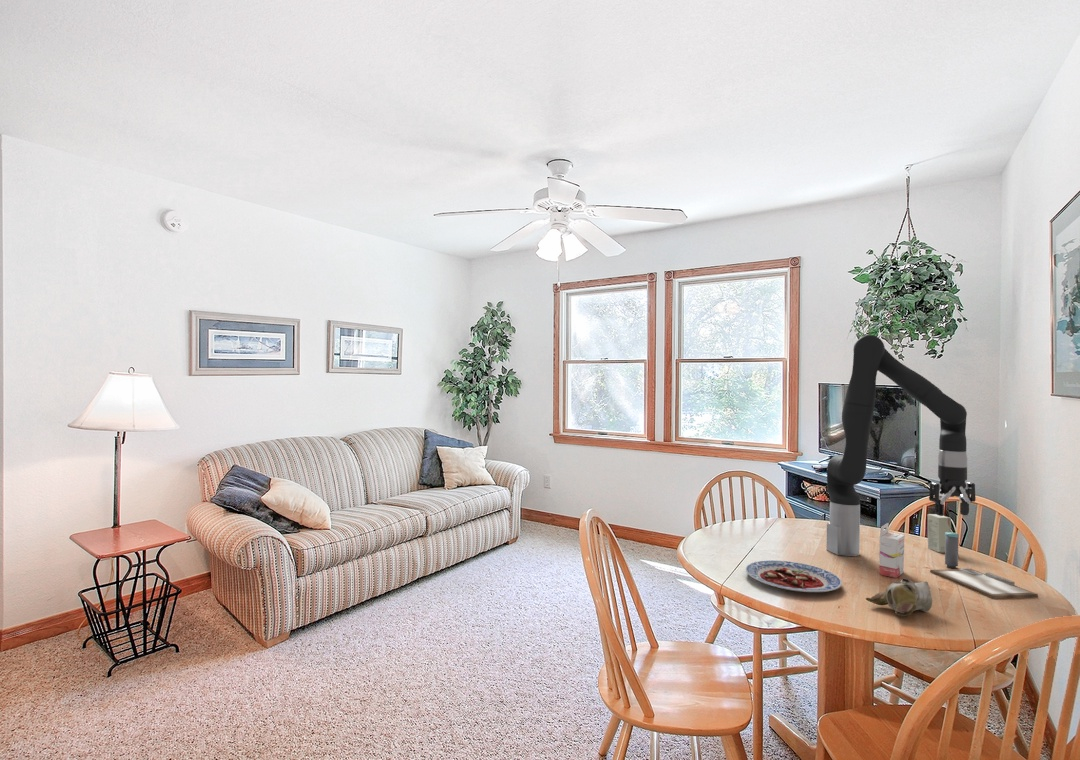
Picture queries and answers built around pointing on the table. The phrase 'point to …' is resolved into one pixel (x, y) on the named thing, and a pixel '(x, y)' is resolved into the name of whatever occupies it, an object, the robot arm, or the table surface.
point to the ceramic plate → (793, 576)
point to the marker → (951, 549)
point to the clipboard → (984, 583)
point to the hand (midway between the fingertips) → (952, 515)
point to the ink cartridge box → (891, 553)
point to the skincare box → (938, 531)
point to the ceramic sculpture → (905, 597)
